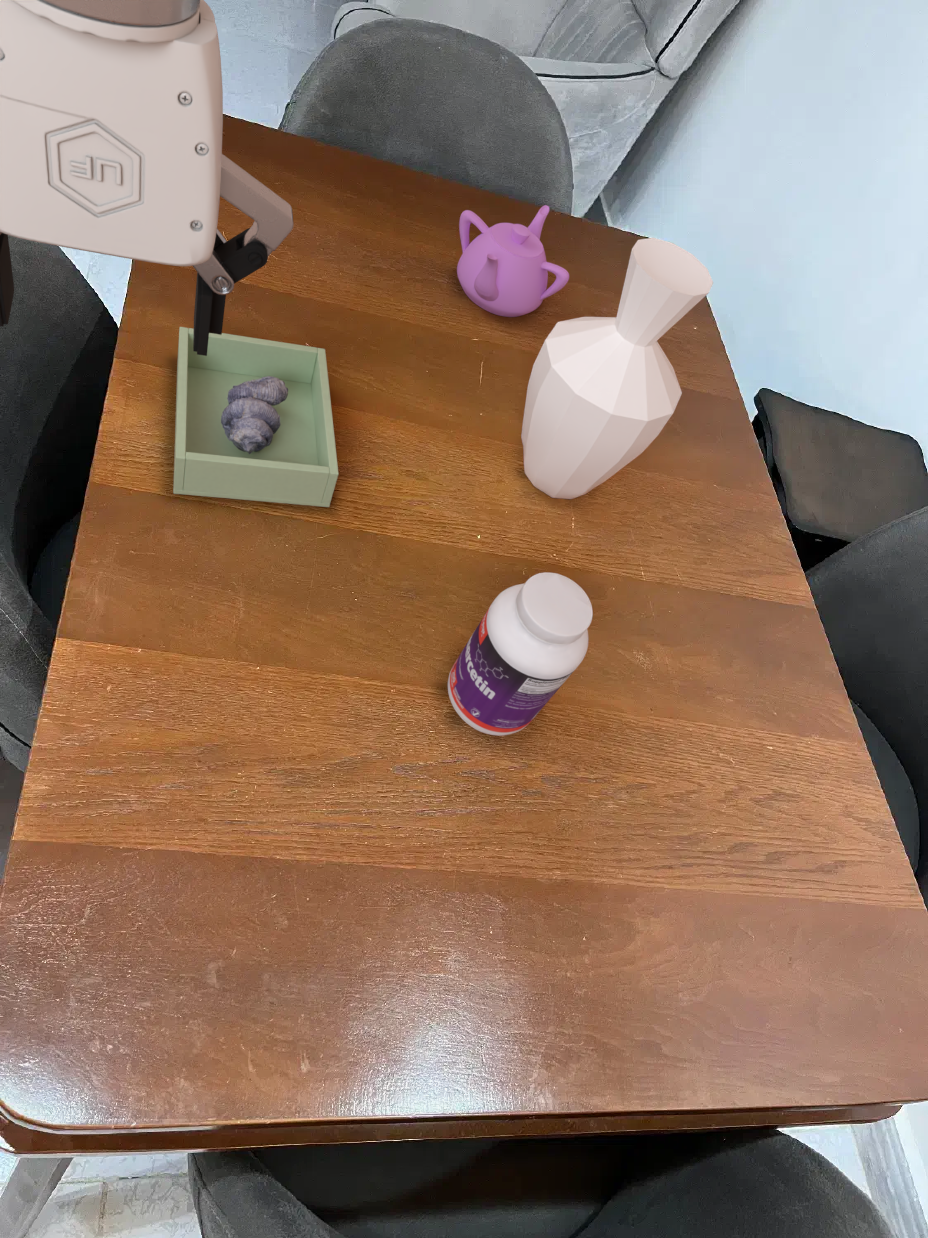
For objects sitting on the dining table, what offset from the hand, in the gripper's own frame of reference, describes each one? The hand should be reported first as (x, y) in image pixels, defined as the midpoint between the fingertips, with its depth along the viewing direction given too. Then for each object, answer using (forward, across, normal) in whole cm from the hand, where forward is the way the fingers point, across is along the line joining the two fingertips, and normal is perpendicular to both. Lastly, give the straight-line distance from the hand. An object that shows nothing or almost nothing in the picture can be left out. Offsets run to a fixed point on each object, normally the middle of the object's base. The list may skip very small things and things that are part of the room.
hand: (105, 324), depth 44 cm
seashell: (+26, +11, +20) cm, 35 cm away
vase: (+26, +43, +20) cm, 54 cm away
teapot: (+26, +42, +50) cm, 70 cm away
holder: (+26, +11, +20) cm, 35 cm away
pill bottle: (+26, +30, -8) cm, 41 cm away
